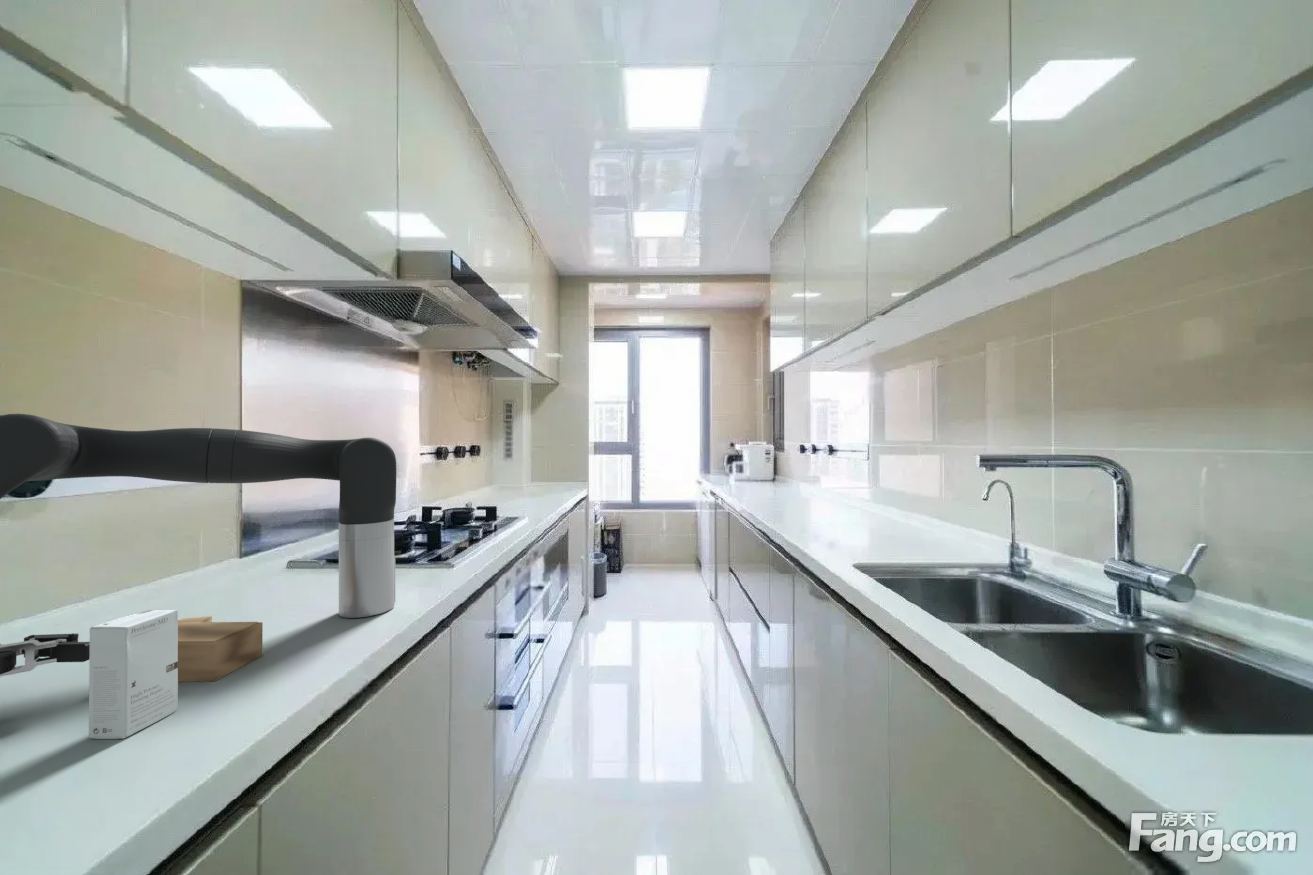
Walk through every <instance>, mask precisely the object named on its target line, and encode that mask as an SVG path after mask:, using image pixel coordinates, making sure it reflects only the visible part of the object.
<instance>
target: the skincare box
mask: <svg viewBox="0 0 1313 875" xmlns="http://www.w3.org/2000/svg"><path fill="white" fill-rule="evenodd" d="M178 612H179V611H178V609H160V610H159V609H158V610H155V609H154V610H152V609H151V610H143V611H140V612H136V613H134V614H131V615H126V616H122V617H118V618H116V619H112V620H110V621H107V622H103V623H100V624H97V625H94V626H90V628H89V642H90V656H89V660H88V663H89V664H88V665H89V668H88V671H89V672H88V674H89V675H88V676H89V678H88V679H89V680H88V684H89V686H88V738H89V739H96V740H97V739H98V740H119V739H126V738H128V737H130V736H132V735H134V734H136V733H138V732H139V731H141V730H143V729H145V728H147V727H149V726H152V724H155V723H157V722H158V721H160V720H162V719H164V718H166V717H168V716H170V715H171V714H173V713H174V712H176V711H177V710H178V708H179V701H178V699H179V689H178V688H179V682H178V620H179V618H178V616H179V614H178Z"/></svg>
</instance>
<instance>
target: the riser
mask: <svg viewBox="0 0 1313 875" xmlns="http://www.w3.org/2000/svg"><path fill="white" fill-rule="evenodd" d="M262 656H263V622H261V621H260V622H259V621H212V622H184V623H181V624H178V683H179V682H216V681H217V680H219V679H222V678H224V677H225V676H227V675H228V674H229V675H230V674H231V673H232V672H234V671H237V670H238V669H240V668H242V667H244V666H245V665H248V664H249V663H251V662H253V661H255V660H257V659H258V658H260V657H262Z"/></svg>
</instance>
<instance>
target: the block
mask: <svg viewBox="0 0 1313 875" xmlns="http://www.w3.org/2000/svg"><path fill="white" fill-rule="evenodd" d="M184 622H213V615H207V616H205V615H204V616H195V617H193V616H192V617H182V618H180V619H178V624H181V623H184Z"/></svg>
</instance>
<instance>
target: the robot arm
mask: <svg viewBox="0 0 1313 875" xmlns="http://www.w3.org/2000/svg"><path fill="white" fill-rule="evenodd" d="M101 477H102V478H105V477H126V478H127V477H128V478H143V479H151V480H158V481H159V480H160V481H166V482H167V481H169V482H182V483H183V482H184V483H195V484H196V483H197V484H255V483H267V482H268V483H269V482H277V481H278V482H279V481H287V480H296V479H297V480H298V479H318V480H329V481H338V482H339V502H338V504H339V505H338V616H340V617H342V618H346V619H354V618H365V617H371V616H376V615H380V614H383V613H386V612H388V611H390V610H392V609H393V608H394V607H395V603H396V556H395V509H396V508H395V507H396V503H397V502H396V501H397V458H396V454H395V451H394V450H393V448H392V447H391V446H390V445H389V444H388V443H387V442H385V441H383V440H382V439H380V438H375V437H362V438H361V437H360V438H351V439H304V438H300V437H299V438H298V437H292V436H286V435H281V434H274V433H269V432H262V431H261V432H260V431H254V430H252V431H251V430H244V429H232V428H231V429H229V428H212V427H211V428H210V427H209V428H208V427H187V428H186V427H182V428H168V429H167V428H166V429H165V428H164V429H163V428H162V429H154V430H153V429H152V430H151V429H149V430H117V429H109V428H108V429H107V428H99V427H89V426H80V425H75V424H67V423H62V422H58V421H57V422H56V421H55V420H54V421H53V420H51V419H49V418H45V417H42V416H37V415H34V414H25V413H7V414H2V415H0V500H1V499H2V498H3V497H5V496H6V495H8V494H10V493H11V492H12V491H13V490H15V489H16V488H19V486H21V485H22V484H24V483H26V482H40V481H41V482H42V481H50V480H62V479H63V480H64V479H65V480H67V479H79V478H81V479H83V478H101ZM21 655H23V658H24V665H22V664H21V665H18V666H17V657H18V656H21ZM89 656H90V641H79V633H57V634H56V633H55V634H54V633H53V634H30V635H28V636H25V637H24V638H23V641H18V642H11V643H6V644H5V643H3V644H2V643H0V677H5V676H9V675H10V676H12V675H16V674H21V673H27V672H31V671H33V670H34V669H35V668H36V667H38V666H42V665H43V666H44V665H47V664H53V663H85V662H87V661H89Z"/></svg>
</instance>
